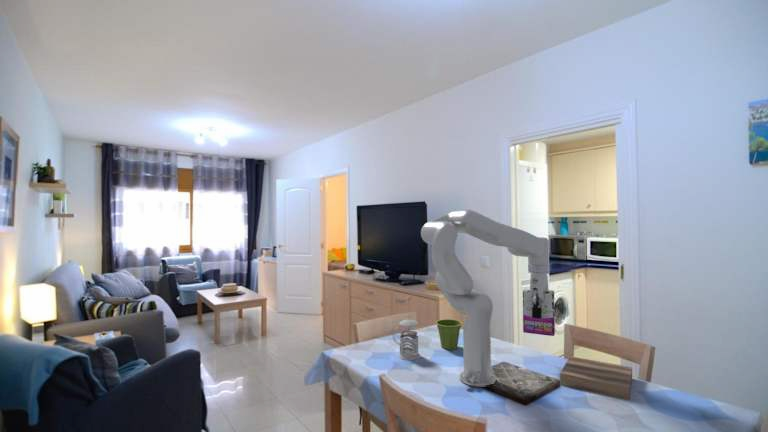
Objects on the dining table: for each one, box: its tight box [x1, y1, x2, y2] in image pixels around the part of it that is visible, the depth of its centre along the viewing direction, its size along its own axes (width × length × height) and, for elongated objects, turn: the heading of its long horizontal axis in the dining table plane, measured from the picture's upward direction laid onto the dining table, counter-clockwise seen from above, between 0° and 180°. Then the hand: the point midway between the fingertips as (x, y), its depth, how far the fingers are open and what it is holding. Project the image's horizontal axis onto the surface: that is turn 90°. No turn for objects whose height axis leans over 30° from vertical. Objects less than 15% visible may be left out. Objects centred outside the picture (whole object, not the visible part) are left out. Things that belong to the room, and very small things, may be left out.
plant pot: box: [435, 318, 463, 351], centre depth 169 cm, size 12×12×11 cm
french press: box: [392, 296, 421, 361], centre depth 159 cm, size 10×12×25 cm
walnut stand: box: [559, 355, 633, 401], centre depth 130 cm, size 20×20×4 cm
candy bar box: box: [522, 288, 556, 337], centre depth 143 cm, size 11×5×16 cm, turn 62°
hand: (538, 315), depth 143 cm, fingers closed on candy bar box, 5 cm apart
